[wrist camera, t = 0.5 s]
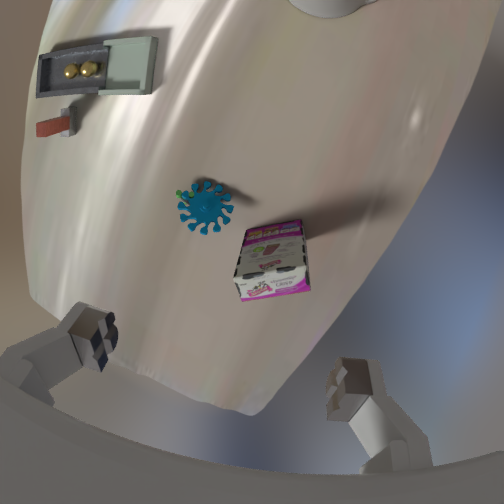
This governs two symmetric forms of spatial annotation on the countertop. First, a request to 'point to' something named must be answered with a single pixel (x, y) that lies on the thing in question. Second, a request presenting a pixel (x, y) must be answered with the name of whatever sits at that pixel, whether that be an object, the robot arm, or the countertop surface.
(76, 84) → the tray
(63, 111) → the red-brown bar
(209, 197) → the gear
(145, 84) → the tray
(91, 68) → the shiny gold ball
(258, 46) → the countertop surface
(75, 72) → the yellow-brown round piece
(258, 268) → the candy bar box
